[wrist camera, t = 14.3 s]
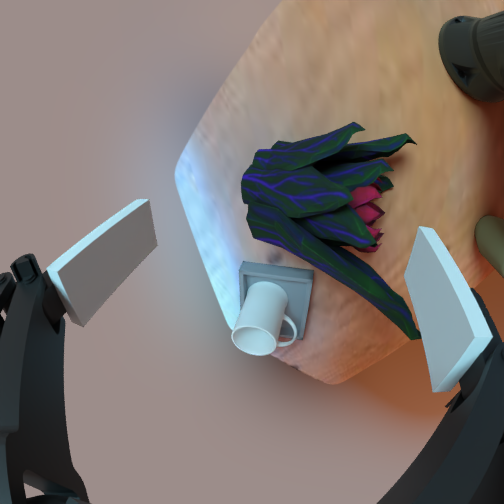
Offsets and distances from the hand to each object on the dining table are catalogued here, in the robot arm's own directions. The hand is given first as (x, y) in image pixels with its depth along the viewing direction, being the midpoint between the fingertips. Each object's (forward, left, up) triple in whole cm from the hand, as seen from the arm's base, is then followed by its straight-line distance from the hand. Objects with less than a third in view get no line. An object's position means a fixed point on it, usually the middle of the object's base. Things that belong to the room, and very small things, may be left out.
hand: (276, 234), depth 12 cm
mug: (+4, +32, -31) cm, 45 cm away
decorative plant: (-7, +7, -32) cm, 33 cm away
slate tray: (+4, +32, -32) cm, 45 cm away
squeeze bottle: (-36, +10, -32) cm, 49 cm away
